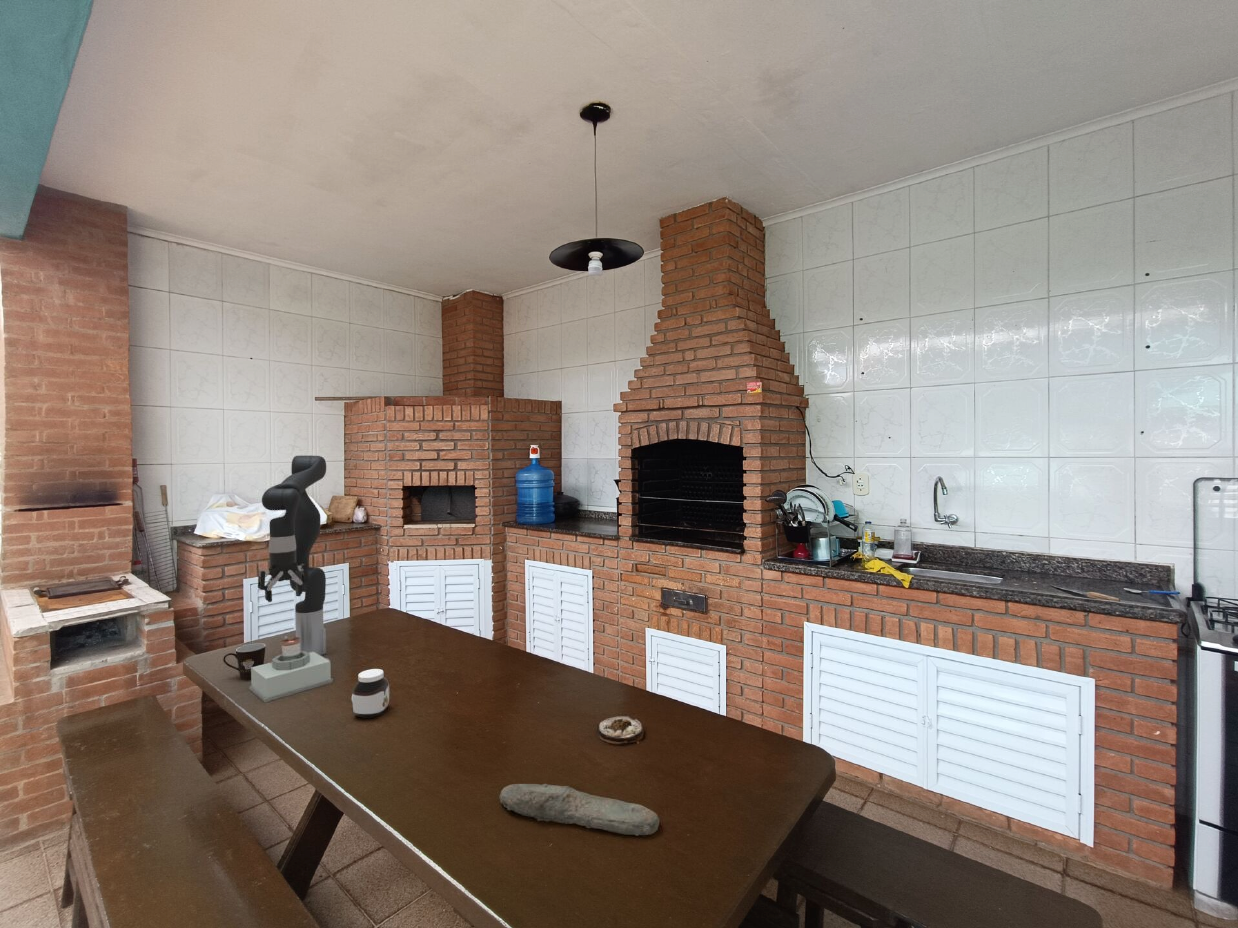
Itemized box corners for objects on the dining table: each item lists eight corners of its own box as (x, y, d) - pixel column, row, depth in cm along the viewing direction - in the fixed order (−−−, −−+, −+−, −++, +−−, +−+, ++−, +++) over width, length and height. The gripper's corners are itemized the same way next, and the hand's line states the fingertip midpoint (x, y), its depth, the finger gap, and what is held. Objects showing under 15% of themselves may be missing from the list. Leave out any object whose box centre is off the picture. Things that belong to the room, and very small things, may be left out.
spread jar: (372, 721, 161) (371, 680, 161) (337, 718, 163) (336, 677, 163) (397, 703, 173) (396, 665, 173) (364, 700, 175) (363, 662, 175)
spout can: (297, 659, 190) (296, 631, 190) (303, 663, 187) (302, 634, 186) (280, 664, 186) (278, 635, 186) (285, 668, 183) (284, 639, 182)
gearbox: (319, 669, 200) (318, 642, 200) (337, 680, 190) (337, 652, 190) (249, 688, 184) (248, 659, 184) (265, 702, 174) (264, 671, 174)
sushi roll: (597, 752, 145) (596, 735, 145) (590, 724, 160) (589, 710, 160) (653, 746, 147) (653, 730, 147) (641, 720, 162) (641, 705, 162)
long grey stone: (652, 854, 110) (662, 824, 119) (654, 827, 110) (664, 799, 119) (489, 813, 119) (511, 789, 129) (491, 788, 119) (512, 765, 129)
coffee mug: (272, 672, 198) (271, 643, 198) (253, 682, 189) (253, 652, 189) (241, 670, 199) (240, 642, 199) (221, 680, 191) (220, 651, 190)
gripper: (301, 545, 194) (302, 592, 194) (254, 551, 183) (255, 601, 183) (310, 547, 189) (311, 596, 189) (262, 554, 178) (263, 605, 179)
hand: (284, 598), depth 186 cm, fingers open, 8 cm apart
